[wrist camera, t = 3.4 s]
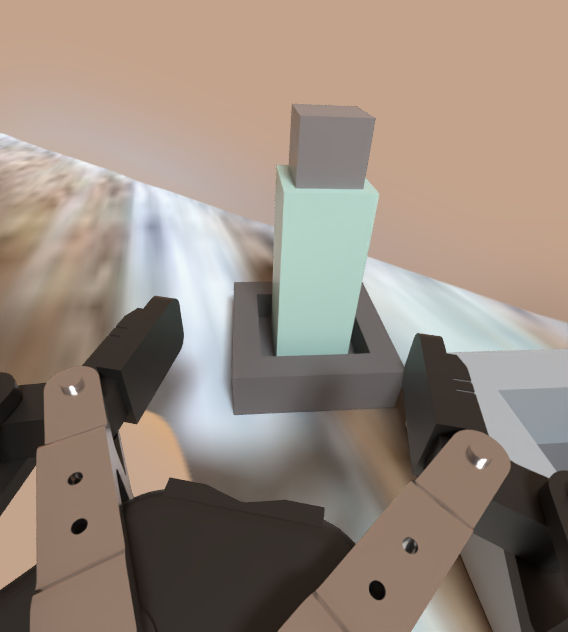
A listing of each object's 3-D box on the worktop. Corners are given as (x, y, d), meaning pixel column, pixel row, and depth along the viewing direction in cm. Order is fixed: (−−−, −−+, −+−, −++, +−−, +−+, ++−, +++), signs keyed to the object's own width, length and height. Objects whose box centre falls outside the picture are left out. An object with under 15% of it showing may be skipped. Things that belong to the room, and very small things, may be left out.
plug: (275, 368, 23) (287, 117, 15) (271, 324, 27) (278, 101, 18) (345, 366, 24) (394, 121, 15) (331, 323, 27) (365, 104, 19)
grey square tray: (234, 414, 22) (232, 378, 20) (235, 315, 29) (234, 282, 27) (394, 407, 23) (406, 371, 21) (355, 312, 30) (361, 281, 28)
